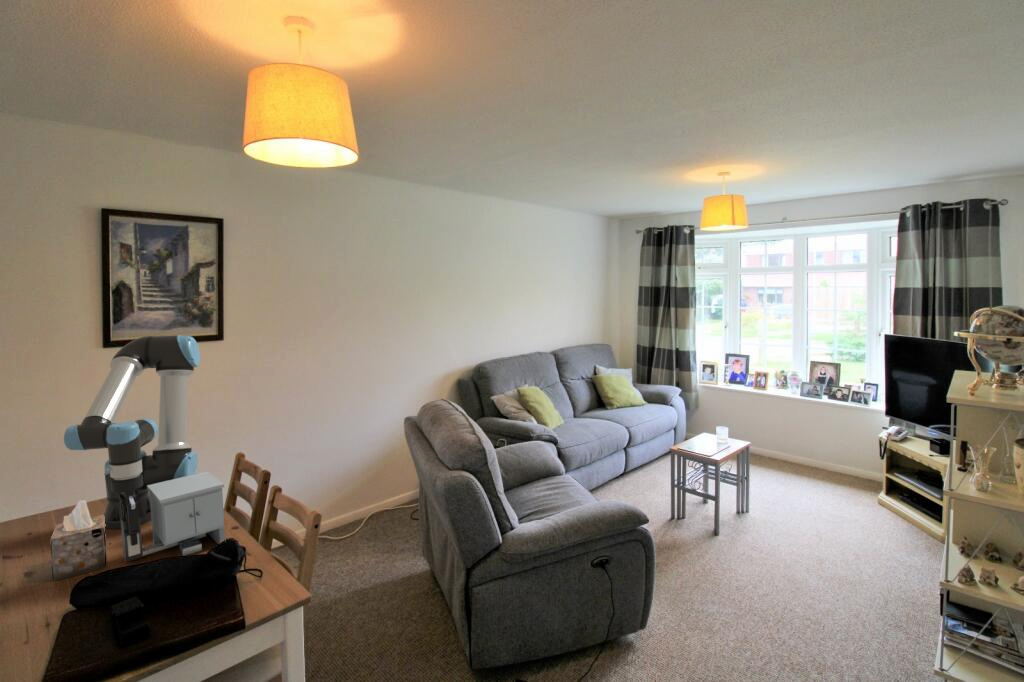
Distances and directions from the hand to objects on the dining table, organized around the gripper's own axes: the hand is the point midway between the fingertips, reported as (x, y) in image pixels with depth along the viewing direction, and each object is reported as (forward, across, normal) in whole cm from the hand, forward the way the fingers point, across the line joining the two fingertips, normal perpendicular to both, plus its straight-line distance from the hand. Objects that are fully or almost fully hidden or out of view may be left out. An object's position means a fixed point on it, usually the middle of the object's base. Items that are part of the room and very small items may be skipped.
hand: (132, 551), depth 151 cm
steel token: (+3, +5, +14) cm, 15 cm away
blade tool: (+2, 0, +8) cm, 9 cm away
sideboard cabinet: (+3, +2, +14) cm, 15 cm away
